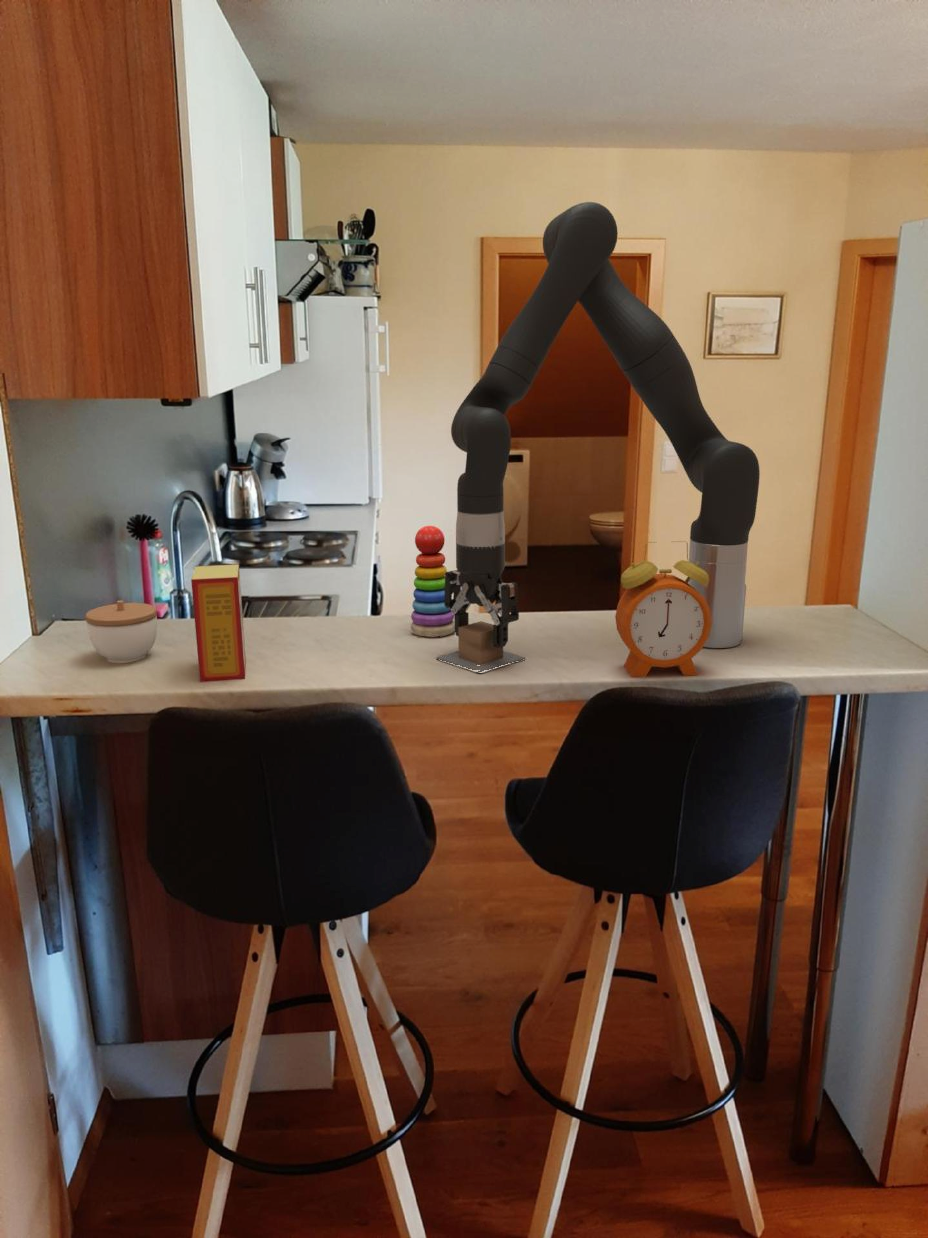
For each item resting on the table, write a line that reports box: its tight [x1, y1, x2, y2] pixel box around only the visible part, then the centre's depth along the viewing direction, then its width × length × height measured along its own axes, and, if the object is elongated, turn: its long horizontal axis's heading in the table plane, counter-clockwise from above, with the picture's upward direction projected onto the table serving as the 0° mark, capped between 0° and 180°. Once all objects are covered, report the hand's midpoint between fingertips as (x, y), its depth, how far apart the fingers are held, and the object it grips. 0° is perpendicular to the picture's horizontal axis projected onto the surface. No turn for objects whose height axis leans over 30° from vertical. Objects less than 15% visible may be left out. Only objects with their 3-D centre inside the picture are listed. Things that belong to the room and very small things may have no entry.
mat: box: [435, 650, 526, 672], centre depth 148 cm, size 10×10×1 cm
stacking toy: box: [410, 525, 455, 638], centre depth 161 cm, size 8×8×19 cm
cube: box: [457, 620, 504, 665], centre depth 148 cm, size 5×5×5 cm
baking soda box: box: [190, 563, 247, 683], centre depth 142 cm, size 10×6×16 cm
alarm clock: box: [614, 540, 711, 678], centre depth 140 cm, size 13×6×20 cm, turn 94°
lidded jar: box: [84, 600, 158, 664], centre depth 150 cm, size 11×11×9 cm
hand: (480, 641), depth 148 cm, fingers open, 8 cm apart
